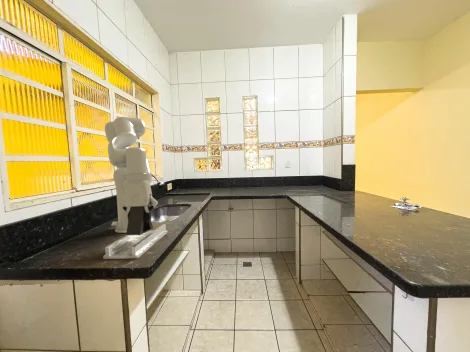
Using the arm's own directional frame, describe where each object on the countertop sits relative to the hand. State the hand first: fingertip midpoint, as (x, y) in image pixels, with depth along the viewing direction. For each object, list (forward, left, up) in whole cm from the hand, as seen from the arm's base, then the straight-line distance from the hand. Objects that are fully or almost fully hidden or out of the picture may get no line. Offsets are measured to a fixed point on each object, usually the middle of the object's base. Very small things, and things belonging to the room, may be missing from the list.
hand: (139, 221), depth 83 cm
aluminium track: (0, 0, -9) cm, 9 cm away
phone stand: (0, 0, -4) cm, 4 cm away
